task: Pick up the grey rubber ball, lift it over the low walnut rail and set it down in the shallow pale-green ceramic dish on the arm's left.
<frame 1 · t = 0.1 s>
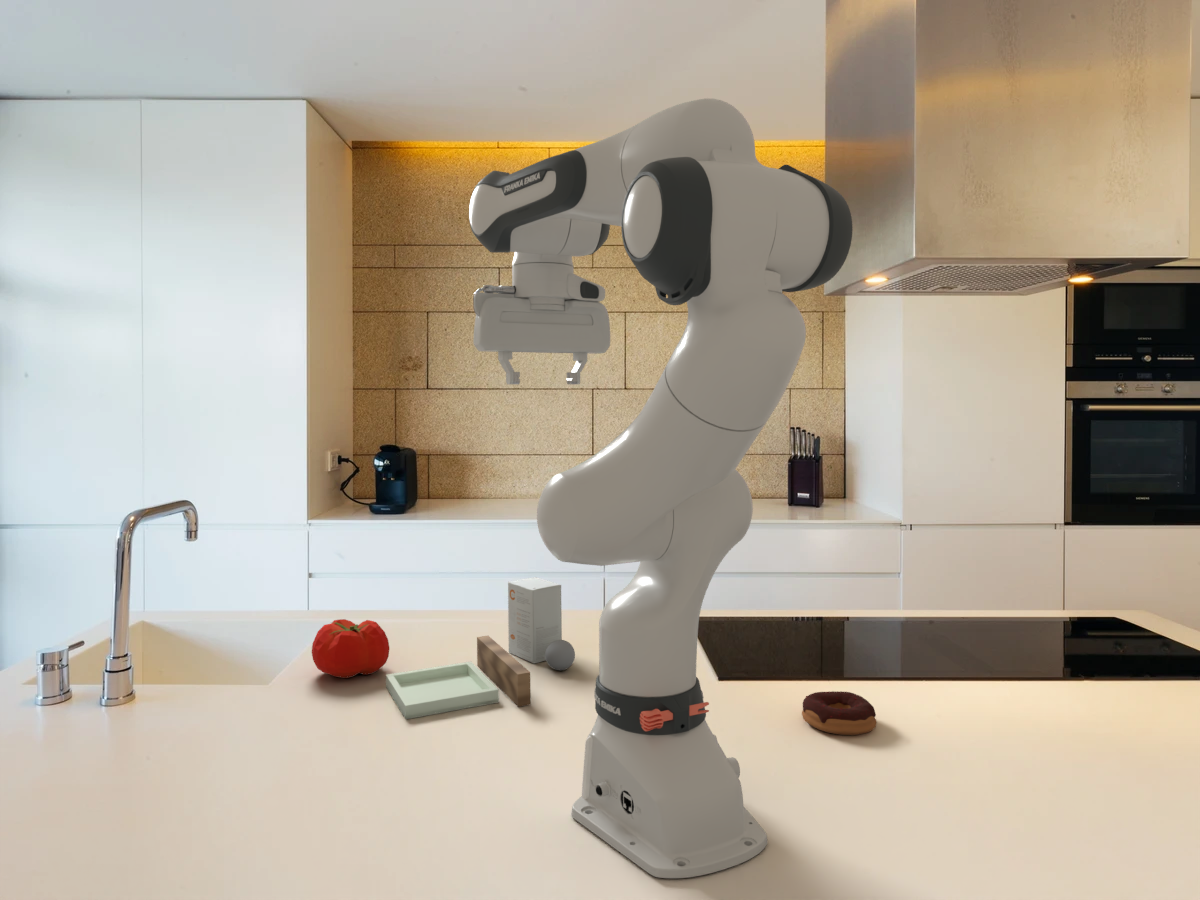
hand: (543, 384, 116), 48 cm above the countertop, fingers open, 8 cm apart
donut: (838, 726, 113), on the countertop
ball: (560, 654, 135), point 2 cm above the countertop
tomato: (350, 674, 134), on the countertop
rail: (502, 683, 129), on the countertop
dish: (440, 694, 124), on the countertop
small box: (535, 655, 143), on the countertop
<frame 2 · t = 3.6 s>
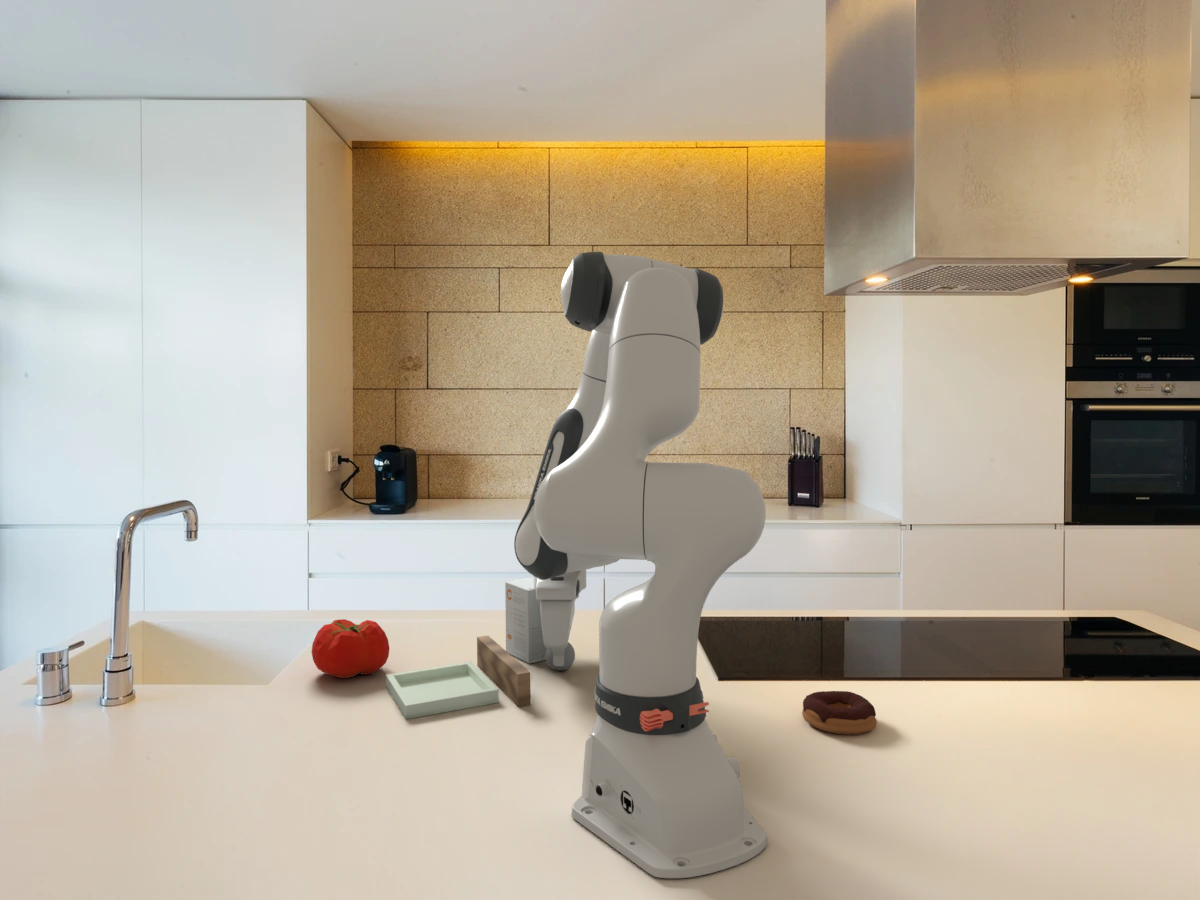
hand: (560, 657, 135), 2 cm above the countertop, fingers open, 5 cm apart
nothing on the countertop moved.
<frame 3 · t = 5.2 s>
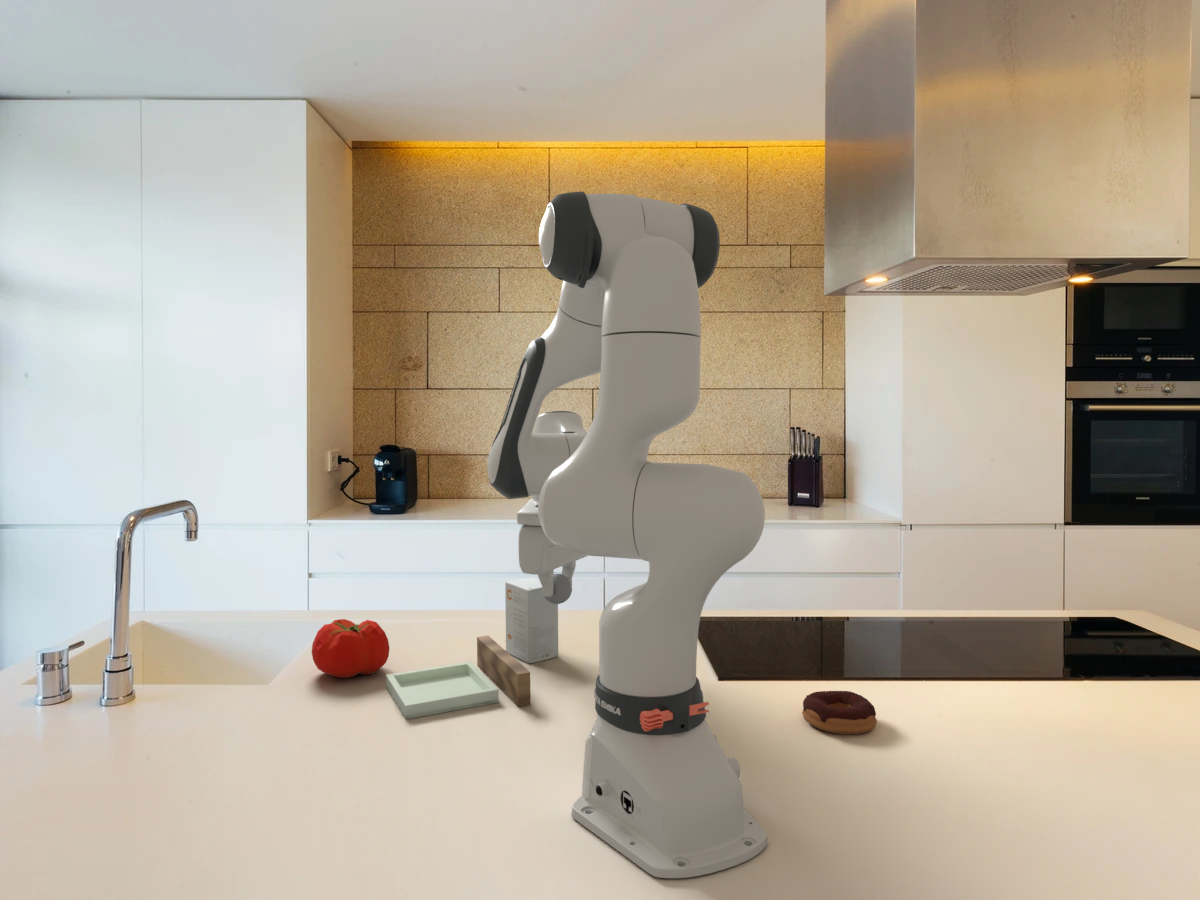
hand: (557, 591, 134), 13 cm above the countertop, fingers closed on ball, 5 cm apart
ball: (557, 588, 134), point 14 cm above the countertop, touching gripper
everything else where it was.
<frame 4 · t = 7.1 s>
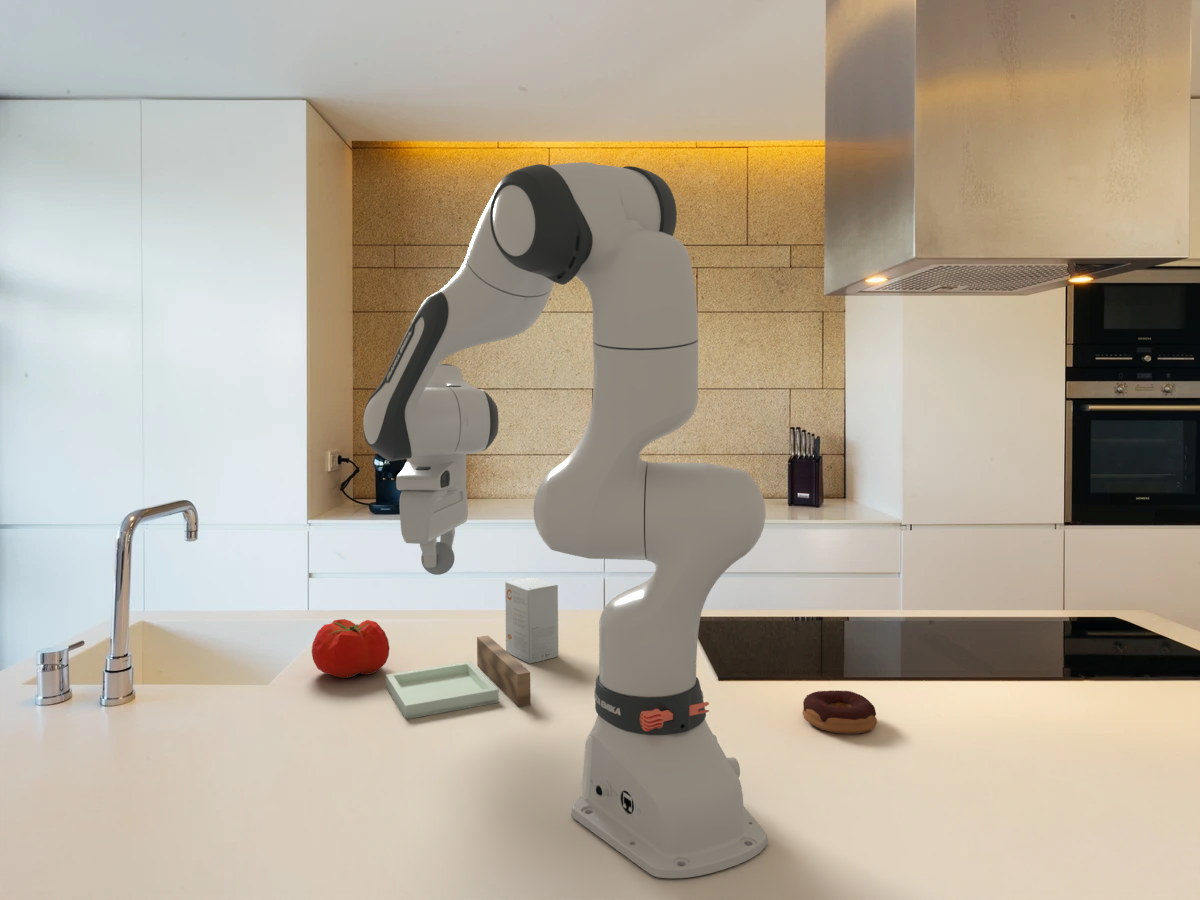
hand: (438, 562, 123), 21 cm above the countertop, fingers closed on ball, 5 cm apart
ball: (437, 558, 123), point 21 cm above the countertop, touching gripper
everything else where it was.
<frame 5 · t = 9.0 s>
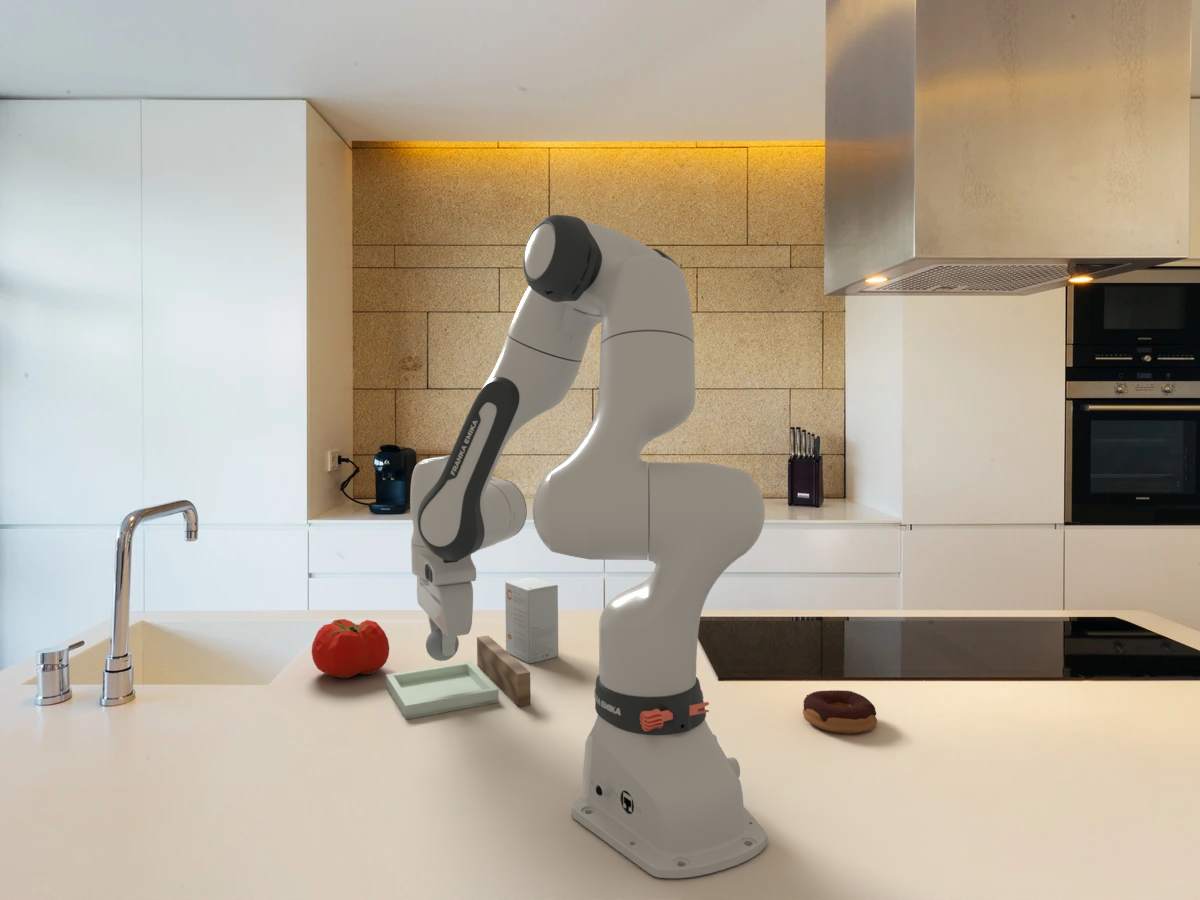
hand: (442, 647, 124), 7 cm above the countertop, fingers closed on ball, 5 cm apart
ball: (442, 644, 124), point 8 cm above the countertop, touching gripper
everything else where it was.
when the fingers open (4 cm above the countertop, at t = 10.5 s): ball drops 1 cm, resting on dish.
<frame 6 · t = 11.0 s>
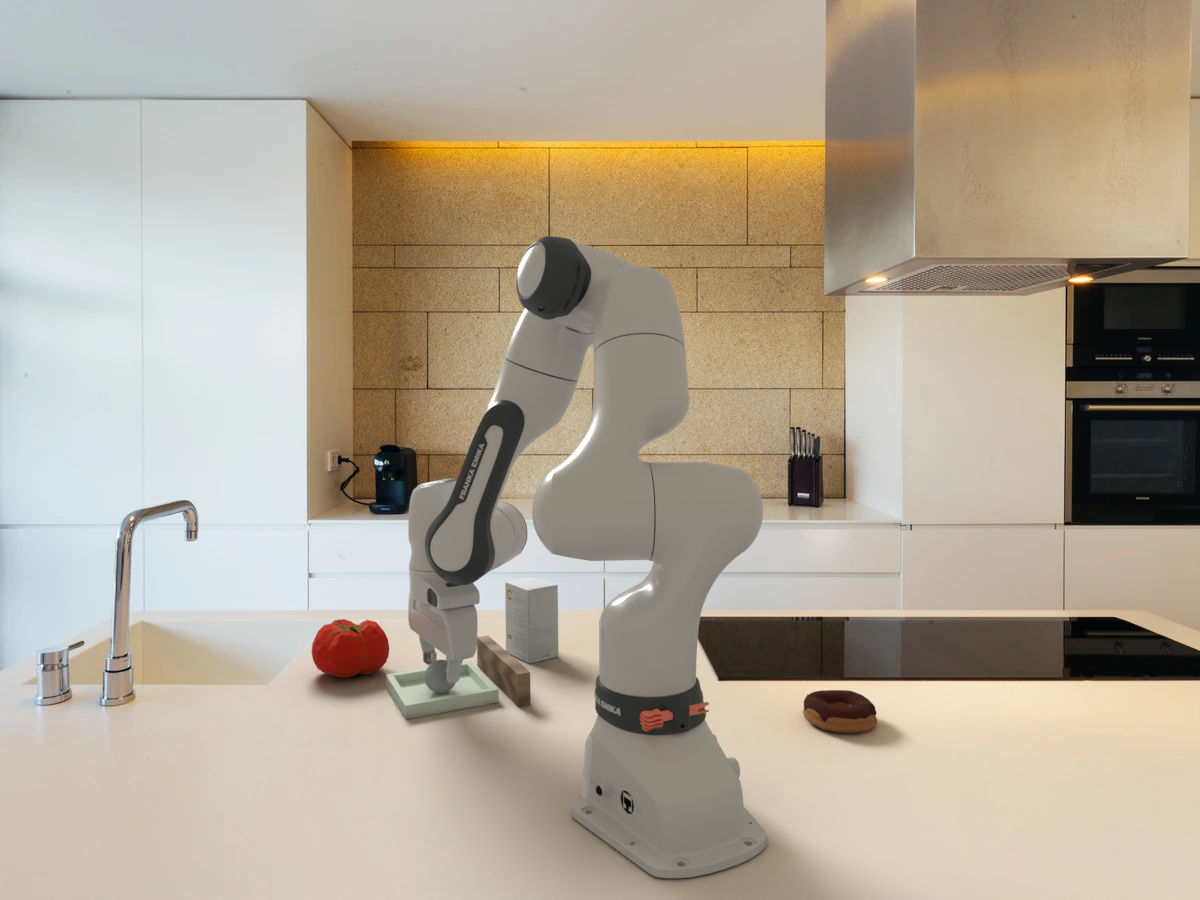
hand: (440, 671, 124), 4 cm above the countertop, fingers open, 8 cm apart
ball: (441, 676, 124), point 3 cm above the countertop, tilted 8°, touching dish
everything else where it was.
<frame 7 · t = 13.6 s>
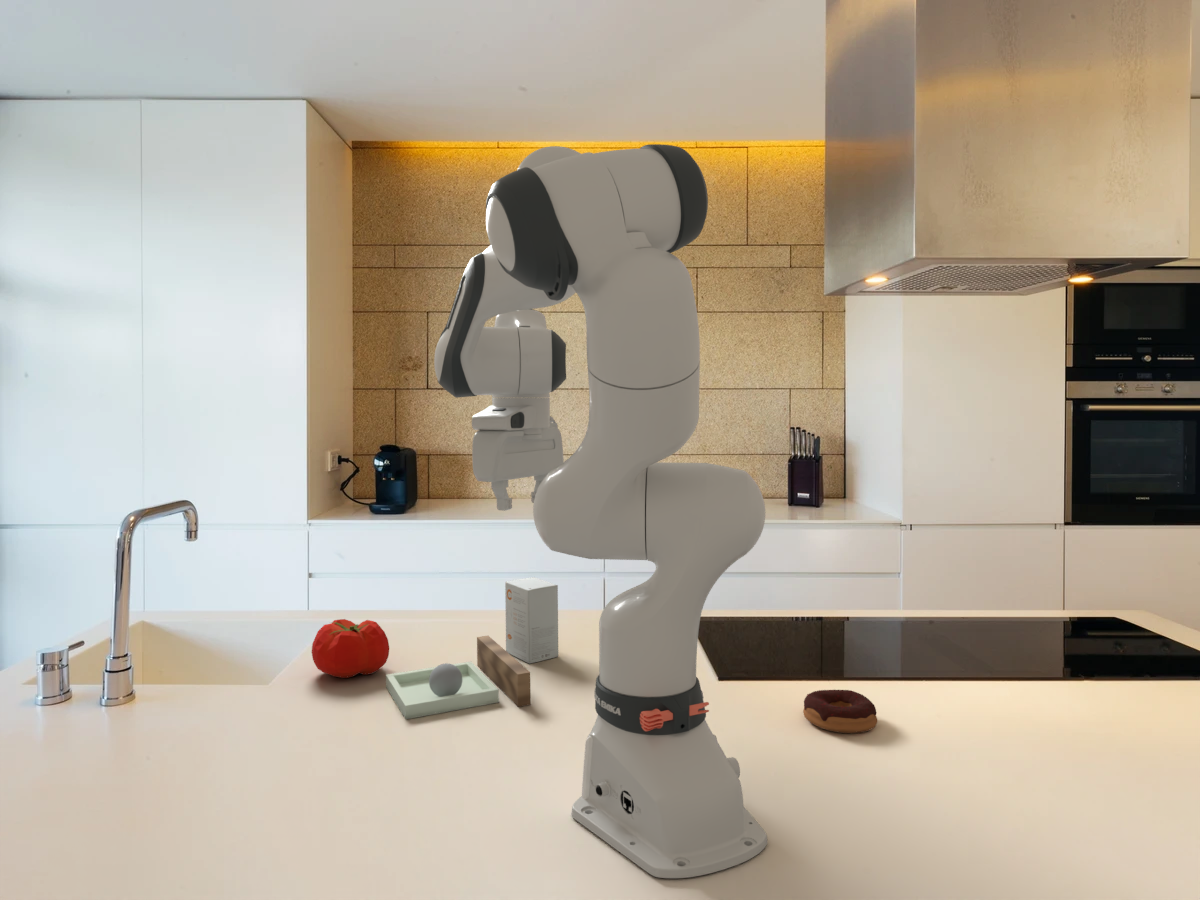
hand: (521, 506, 124), 29 cm above the countertop, fingers open, 8 cm apart
ball: (445, 680, 122), point 3 cm above the countertop, tilted 54°, touching dish
everything else where it was.
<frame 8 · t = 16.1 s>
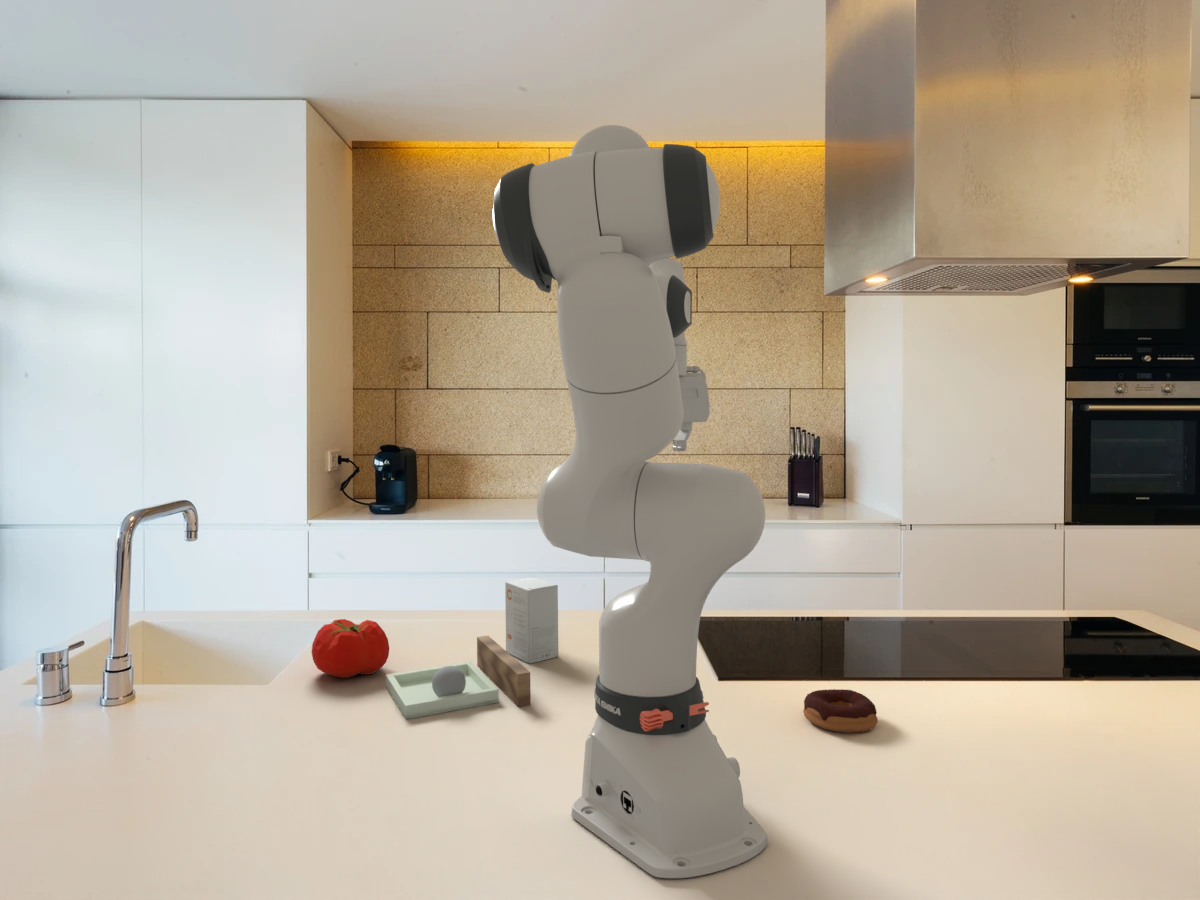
hand: (658, 452, 127), 37 cm above the countertop, fingers open, 8 cm apart
ball: (448, 683, 121), point 3 cm above the countertop, tilted 84°, touching dish
everything else where it was.
at the end: ball inside the target area on the dish (3.7 cm from its centre), point 3.0 cm above the dish's base; the gripper is holding nothing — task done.
